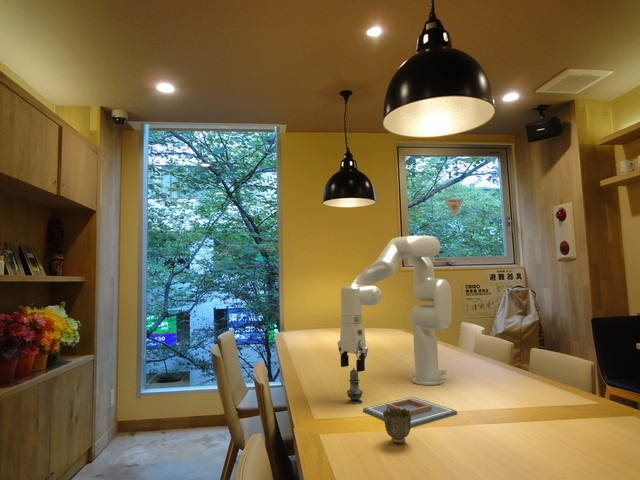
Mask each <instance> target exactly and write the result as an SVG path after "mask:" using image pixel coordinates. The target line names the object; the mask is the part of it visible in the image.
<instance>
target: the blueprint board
mask: <svg viewBox="0 0 640 480" xmlns="http://www.w3.org/2000/svg"><path fill="white" fill-rule="evenodd" d="M391 408H392V410H393V408H395V409H396V410H398V408H400V410H402V409H404V408H405V409H406V410H407V411H408V410H409V411H410V412H409V413H411V425H410V429H411V428H415V427H418V426H421V425H422V426H423V425H425V424H428V423H431V422H434V421H439V420H442V419H445V418H449V417H452V416H455V415H458V411H457V410H455V409H452V408H449V407H446V406H443V405H440V404H436V403H434V402H430V401H427V400H425V399H421V398H419V397H415V396H413V395H412V396H408V397H404V398H399V399H396V400H392V401H387V402H384V403H379V404H375V405H371V406H367V407H363V408H362V412H364V413H366V414H369V415H370V416H373V417H375V418H377V419H381V420H382V421H384V416H383V411H386V410H388V411H389V410H390V409H391Z"/></svg>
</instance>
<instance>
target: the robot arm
mask: <svg viewBox="0 0 640 480" xmlns="http://www.w3.org/2000/svg"><path fill="white" fill-rule="evenodd" d="M440 250H441V243H440V240H439V239H438V238H437V237H436V236H434V235H407V236H406V235H404V236H398V237H394V238H392V239H391V240H389V241H388V243H387V244H386V246H385V247H384V249H383V250H382V251H381V253H380V255H379V256H378V257H377V259H376V261H374V263H371V264H370V265H369V266H368V267H366V268H365V269H364V270H362V271H361V272H360V273H359V274H357V275H356V277H355V278H354V280H353V281H352V283H350V285H346V286H345V285H344V286H342V287H341V288H340V315H341V316H340V319H341V320H340V324H341V325H340V333H339V334H340V338H339V341H337V343H336V344H337V349H338V352H339V356H340V367H341V368H345V367H349V363H350V362H349V360H350V359H349V354H354V355H355V357H356V359H355V360H356V371H357V372H358V373H359V372H364V371H366V368H365V367H366V357H367V356H368V352H369V347H368V346H367V345H366V344H367V343H366V333H365V327H364V325H363V312H362V310H363V309H362V307H363V306H368V307H369V306H370V307H372V306H375V305H377V304H380V302H381V300H382V298H383V292H382V291H381V289H380V288H379V287H378V286H375V284H376V283H378V282H381V281H384V280H386V279H389V278H390V277H392V276H393V275H394V274H395V272H396V271H397V270H398V267H399V266H400V265H401V263H402V262H403V259H405V258H406V259H408V260H409V261H410V263H411V264H412V268H413V296H414V297H415V299H416V300H418V301H419V302H429V303H430V302H432V303H433V302H434V304H417V305H414V306H413V307H412V308H411V309H410V311H409V320H410V325H411V327H412V329H411V330H412V337H413V353H414V355H413V356H414V371H415V372H414V373H415V376H413V377H412V378H411V381H412V383H414V384H417V385H422V386H435V385H436V386H437V385H440V384H443V383H444V378H443V377H441V376H442V375H446V374H447V370H446V369H440V368H439V353H438V338H437V335H436V333H435V330H434V329H436V330H446V329H447V328H449V327H450V326H451V323H452V317H453V316H452V314H453V312H452V309H453V307H452V306H453V305H452V301H453V299H452V298H453V296H452V288H451V286H450V283H449V282H448V281H447V280H446V279H444V278H435V267H434V263H433V262H432V260H431V258H433V257H436V256H437V255H438V254H439V253H440Z"/></svg>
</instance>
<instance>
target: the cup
mask: <svg viewBox="0 0 640 480" xmlns="http://www.w3.org/2000/svg"><path fill="white" fill-rule="evenodd" d="M409 412H410V411H409V410H408V411H407V410H406V409H405V408H404V409H402V410H400V408H398V410H396V409H395V408H393V410H392V408H391V409H390V410H389V411H388V410H386V411H383V416H384V420H383V421H384V427H385V431H386V433H387V435H388V436H389V437H390V438H391V439H390V440H391V442H392V444H393V445H398V446H400V445H404V444H405V443H406V438H407V437H408V435H409V434H410V431H411V428H410V425H411V413H409Z"/></svg>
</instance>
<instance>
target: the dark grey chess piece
mask: <svg viewBox="0 0 640 480" xmlns="http://www.w3.org/2000/svg"><path fill="white" fill-rule="evenodd" d="M348 381H349V384H350V385H349V389H348V390H347V391H346V394H347V396H348V398H349V399H348V401H347V403H348V404H350V405H360V404H362V403H363V400H362V399H361V398H362V396H363V393H364V391H363V390H362V389H360V386H359V382H360V380H359V372H357V369H355V367H353V368H352V370H350V372H349V380H348Z"/></svg>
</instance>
